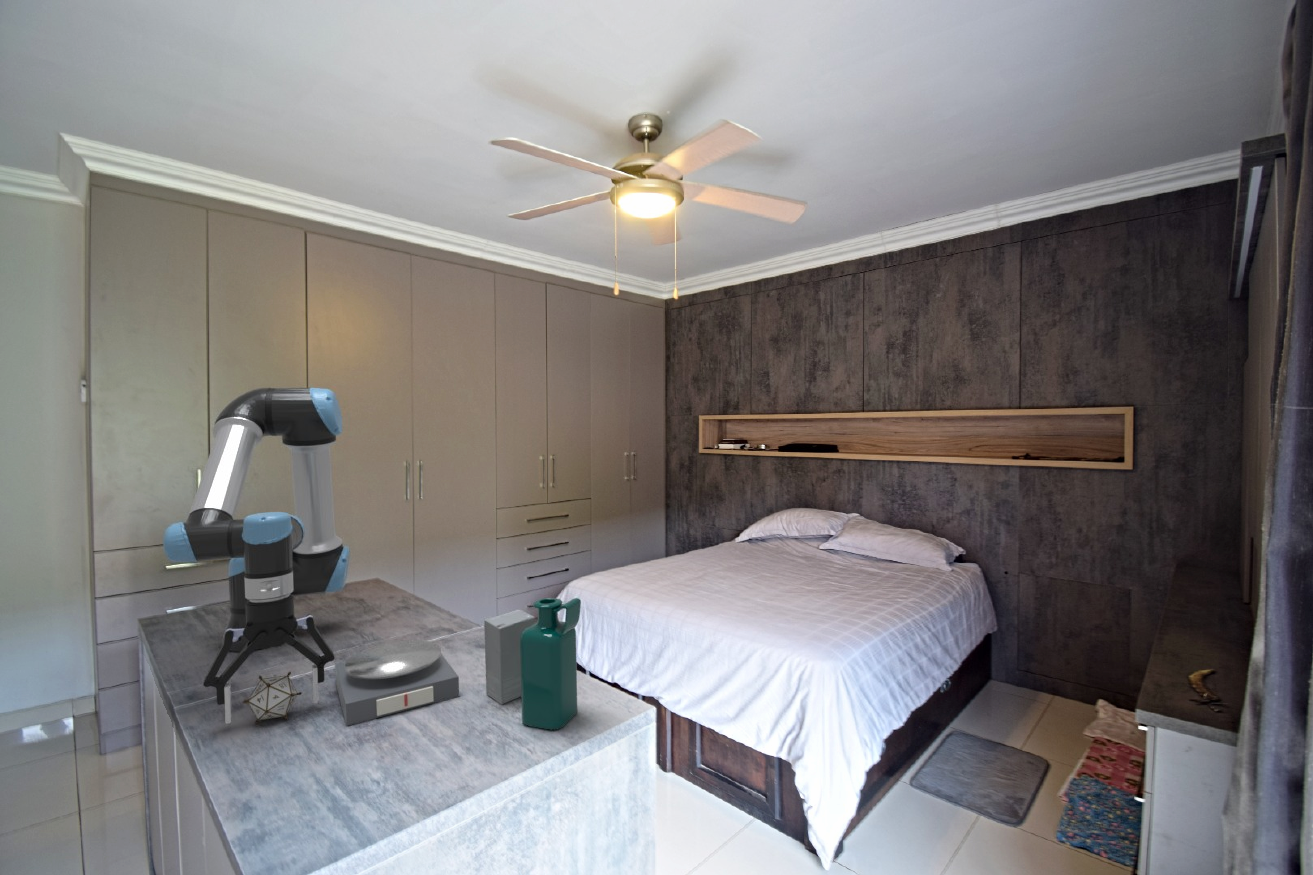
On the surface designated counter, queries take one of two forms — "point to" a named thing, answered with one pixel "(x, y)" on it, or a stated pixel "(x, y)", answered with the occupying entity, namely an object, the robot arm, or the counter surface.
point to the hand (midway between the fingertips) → (273, 709)
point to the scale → (394, 691)
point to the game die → (272, 697)
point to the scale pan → (393, 659)
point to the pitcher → (549, 665)
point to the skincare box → (504, 654)
